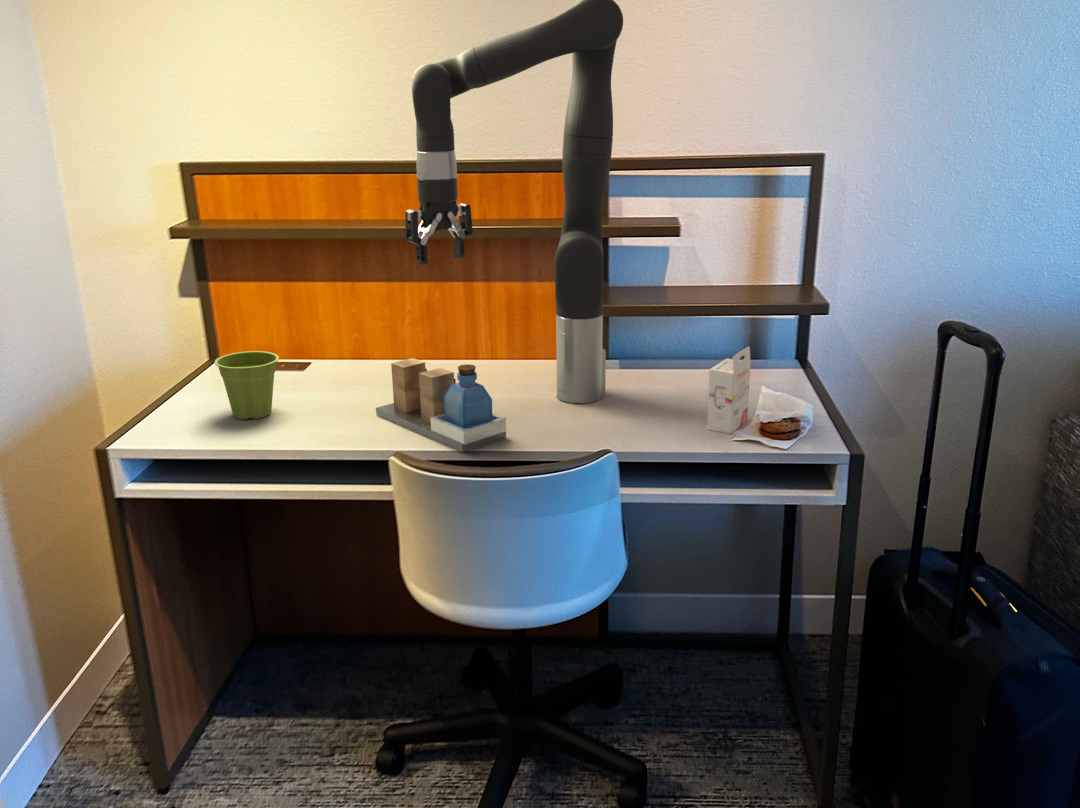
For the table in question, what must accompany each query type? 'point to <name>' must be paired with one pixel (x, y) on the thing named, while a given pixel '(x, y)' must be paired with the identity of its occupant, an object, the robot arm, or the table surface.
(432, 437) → the grey rectangular tray
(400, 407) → the walnut finger rear
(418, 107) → the robot arm
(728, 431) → the ink cartridge box
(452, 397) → the perfume bottle
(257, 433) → the table surface
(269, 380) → the plant pot
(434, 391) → the walnut finger front
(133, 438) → the table surface
